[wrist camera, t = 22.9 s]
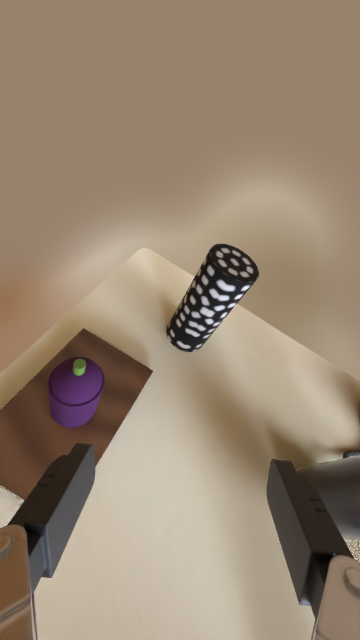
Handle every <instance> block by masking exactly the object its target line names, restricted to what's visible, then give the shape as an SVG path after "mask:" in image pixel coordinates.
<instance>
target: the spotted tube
mask: <svg viewBox="0 0 360 640" xmlns="http://www.w3.org/2000/svg"><path fill="white" fill-rule="evenodd" d="M258 276H259V271H258V268H257V266H256V264H255V263H254V261H253V260H252V259H251V258H250V257H249V256H248V255H247V254H245V253H244V252H243V251H241V250H239V249H238V248H235V247H233V246H230V245H227V244H216V245H214V246H213V247H212V248H211V249H210V251H209V253H208V255H207V256H206V258H205V260H204V262H203V264H202V265H201V267H200V269H199V271H198V272H197V274H196V276H195V278H194V279H193V281H192V283H191V285H190V287H189V288H188V290H187V292H186V294H185V296H184V297H183V299H182V301H181V303H180V304H179V306H178V308H177V310H176V312H175V313H174V315H173V317H172V319H171V321H170V322H169V324H168V326H167V336H168V338H169V340H170V342H171V343H172V344H173V345H174V346H175V347H177V348H178V349H180V350H182V351H186V352H193V351H196V350H198V349H200V348H201V346H202V345H203V344H204V343H205V342H206V340H207V339H208V338H209V337H210V336H211V334H212V333H213V332H214V331H215V330H216V328H217V327H218V326H219V325H220V323H221V322H222V321H223V320H224V319H225V317H226V316H227V315H228V314H229V313H230V311H231V310H232V309H233V308H234V307H235V305H236V304H237V303H238V302H239V300H240V299H241V298H242V297H243V295H244V294H245V293H246V292H247V291H248V290H249V288H250V287H251V286H252V285H253V284H254V282H255V281H256V280H257V278H258Z"/></svg>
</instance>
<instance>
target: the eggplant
mask: <svg viewBox="0 0 360 640" xmlns="http://www.w3.org/2000/svg"><path fill="white" fill-rule="evenodd" d="M103 387H104V374H103V371H102V369H101V368H100V367H99V366H98V365H97V364H96V363H95V362H94V361H92V360H91V359H89V358H86V357H72V358H69V359H67V360H65V361H63V362H62V363H60V364H59V365H57V366H56V367H55V368H54V370H53V371H52V373H51V374H50V377H49V380H48V389H49V401H50V412H51V415H52V418H53V419H54V421H55V422H56V423H58V424H59V425H61V426H63V427H68V428H73V427H78V426H81V425H83V424H85V423H86V422H88V421H89V420H90V419H91V418H92V416H93V415H94V413H95V411H96V408H97V405H98V402H99V399H100V396H101V393H102V390H103Z"/></svg>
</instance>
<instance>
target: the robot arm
mask: <svg viewBox="0 0 360 640" xmlns="http://www.w3.org/2000/svg"><path fill="white" fill-rule="evenodd" d="M350 456H353V457H350ZM348 457H349V458H348ZM94 479H95V450H94V445H93V444H85V443H76V444H75V445H74V447H73V448H72V450H71V451H70V453H69V454H68V455H61V456H60V457H58V458H57V459H56V460H55V461H53V462H52V463H51V464H50V465H49V467H48V468H47V470H46V471H45V473H44V474H43V477H41V478H40V480H39V481H38V483H37V485H36V486H35V487H34V488H33V490H32V491H31V492H30V494H29V495H28V497H27V498H26V500H25V501H24V502H23V504H22V505H21V507H20V508H19V510H18V511H17V512H16V514H15V515H14V517H13V518H12V520H11V521H10V522H9V524H8V525H7V526H5V527H2V528H0V640H38V635H37V623H36V611H35V599H34V591H35V588H36V586H37V584H38V582H39V580H40V578H41V577H47V578H52V576H53V574H54V572H55V569H56V567H57V565H58V563H59V560H60V558H61V556H62V554H63V551H64V549H65V547H66V545H67V542H68V540H69V538H70V536H71V533H72V531H73V529H74V527H75V524H76V522H77V520H78V518H79V516H80V513H81V511H82V509H83V507H84V504H85V502H86V500H87V498H88V495H89V493H90V491H91V489H92V486H93V483H94ZM267 500H268V504H269V508H270V511H271V514H272V517H273V521H274V524H275V527H276V530H277V533H278V537H279V540H280V543H281V546H282V550H283V553H284V556H285V559H286V563H287V566H288V569H289V572H290V576H291V579H292V582H293V585H294V588H295V592H296V595H297V598H298V601H299V605H307V606H311V607H312V610H313V613H314V616H315V622H314V626H313V631H312V635H311V640H360V562H358V561H356V560H355V559H354V557H353V556H352V554H351V552H350V550H349V548H348V547H347V545H346V543H345V541H344V539H343V538H346V539H360V451H348V452H345V453H344V454H343V459H339V460H333V461H329V462H325V463H319V464H314V465H309V466H301V467H298V468H297V469H296V470H295V468H294V466H293V464H292V462H291V461H289V460H277V459H272V460H271V463H270V469H269V476H268V482H267Z"/></svg>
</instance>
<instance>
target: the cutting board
mask: <svg viewBox="0 0 360 640" xmlns="http://www.w3.org/2000/svg"><path fill="white" fill-rule="evenodd" d="M72 357H86V358H89V359H91V360H92V361H94V362H95V363H96V364H97V365H98V366H99V367H100V368H101V369H102V371H103V374H104V387H103V390H102V393H101V396H100V399H99V402H98V405H97V408H96V411H95V413H94V415H93V416H92V418H91V419H90V420H89V421H88V422H86V423H85V424H83V425H81V426H78V427H73V428H68V427H63V426H61V425H59V424H58V423H56V422H55V421H54V419H53V418H52V415H51V412H50V401H49V389H48V380H49V377H50V374H51V373H52V371H53V370H54V368H55V367H56V366H57V365H59V364H60V363H62V362H63V361H65V360H67V359H69V358H72ZM152 372H153V371H152V370H151V369H149V368H148V367H146V366H144V365H143V364H141V363H139V362H138V361H136V360H135V359H133V358H131V357H130V356H128V355H126V354H125V353H123V352H122V351H120V350H118V349H117V348H115V347H113V346H112V345H110V344H109V343H107V342H105V341H104V340H102V339H100V338H99V337H97V336H96V335H94V334H92V333H91V332H89V331H87V330H86V329H84V328H83V329H82V330H81V331H80V332H79V333H78V334H77V335H76V336H75V337H74V338H73V339H72V340H71V341H70V342H69V343H68V344H67V345H66V346H65V347H64V348H63V349H62V350H61V351H60V352H59V353H58V354H57V355H56V356H55V357H54V358H53V359H52V360H51V361H50V362H49V363H48V364H47V365H46V366H45V367H44V368H43V369H42V370H41V371H40V372H39V373H38V374H37V375H36V376H35V377H34V378H33V379H32V380H31V381H30V382H29V383H28V384H27V385H26V386H25V387H24V388H23V389H22V390H21V391H20V392H19V393H18V394H17V395H16V396H14V397H13V398H12V399H11V400H10V401H9V402H8V403H7V404H6V405H5V406H4V407H3V408H2V409H1V410H0V485H1V486H3V487H5V488H6V489H8V490H9V491H11V492H13V493H14V494H16V495H18V496H19V497H21V498H22V499H24V500H26V498H27V497H28V495H29V494H30V492H31V491H32V490H33V488H34V487H35V486H36V485H37V483H38V481H39V480H40V478H41V477H43V474H44V473H45V471H46V470H47V468H48V467H49V465H50V464H51V463H52V462H53V461H55V460H56V459H57V458H58V457H60V456H61V455H68V454H69V453H70V451H71V450H72V448H73V447H74V445H75V444H76V443H85V444H93V445H94V450H95V467H96V465H97V463H98V462H99V460H100V458H101V457H102V455H103V453H104V452H105V450H106V449H107V447H108V445H109V444H110V442H111V440H112V439H113V437H114V435H115V434H116V432H117V430H118V429H119V427H120V425H121V424H122V422H123V420H124V419H125V417H126V415H127V414H128V412H129V410H130V409H131V407H132V405H133V404H134V402H135V400H136V399H137V397H138V395H139V394H140V392H141V390H142V389H143V387H144V385H145V384H146V382H147V380H148V379H149V377H150V375H151V374H152Z"/></svg>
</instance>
